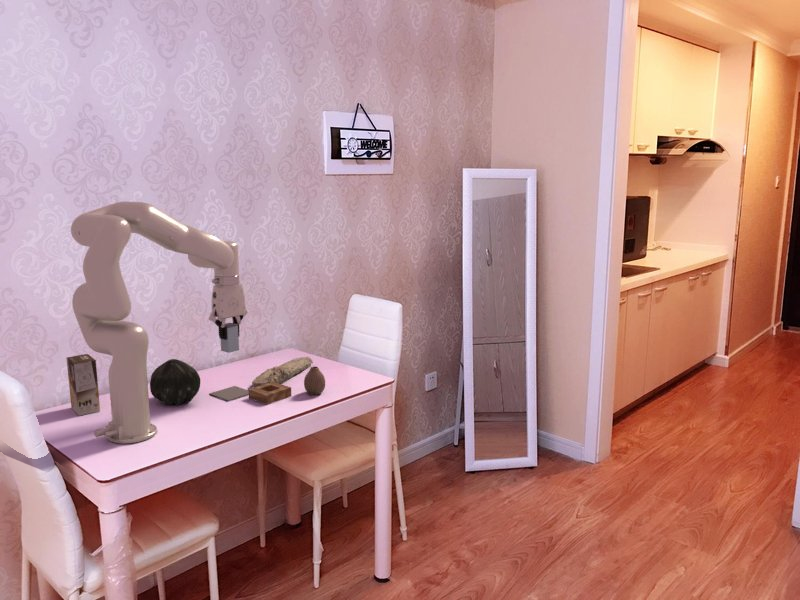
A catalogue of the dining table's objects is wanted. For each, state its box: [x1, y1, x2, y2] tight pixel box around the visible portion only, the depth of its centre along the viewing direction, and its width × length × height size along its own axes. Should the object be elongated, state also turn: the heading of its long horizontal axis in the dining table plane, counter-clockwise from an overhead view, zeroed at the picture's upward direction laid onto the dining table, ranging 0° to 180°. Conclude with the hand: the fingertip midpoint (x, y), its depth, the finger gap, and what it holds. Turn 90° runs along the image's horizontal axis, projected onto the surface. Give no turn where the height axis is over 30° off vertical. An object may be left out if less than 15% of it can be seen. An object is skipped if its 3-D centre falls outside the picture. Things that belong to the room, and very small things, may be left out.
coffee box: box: [66, 353, 101, 417], centre depth 194 cm, size 9×6×16 cm
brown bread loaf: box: [251, 356, 314, 388], centre depth 229 cm, size 35×5×10 cm
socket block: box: [247, 382, 292, 405], centre depth 207 cm, size 10×9×3 cm
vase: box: [303, 366, 326, 396], centre depth 211 cm, size 7×7×9 cm
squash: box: [149, 358, 201, 406], centre depth 202 cm, size 14×15×15 cm
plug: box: [220, 322, 240, 354], centre depth 207 cm, size 4×4×8 cm
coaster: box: [208, 385, 249, 402], centre depth 210 cm, size 10×10×1 cm
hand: (229, 336), depth 207 cm, fingers closed on plug, 4 cm apart
